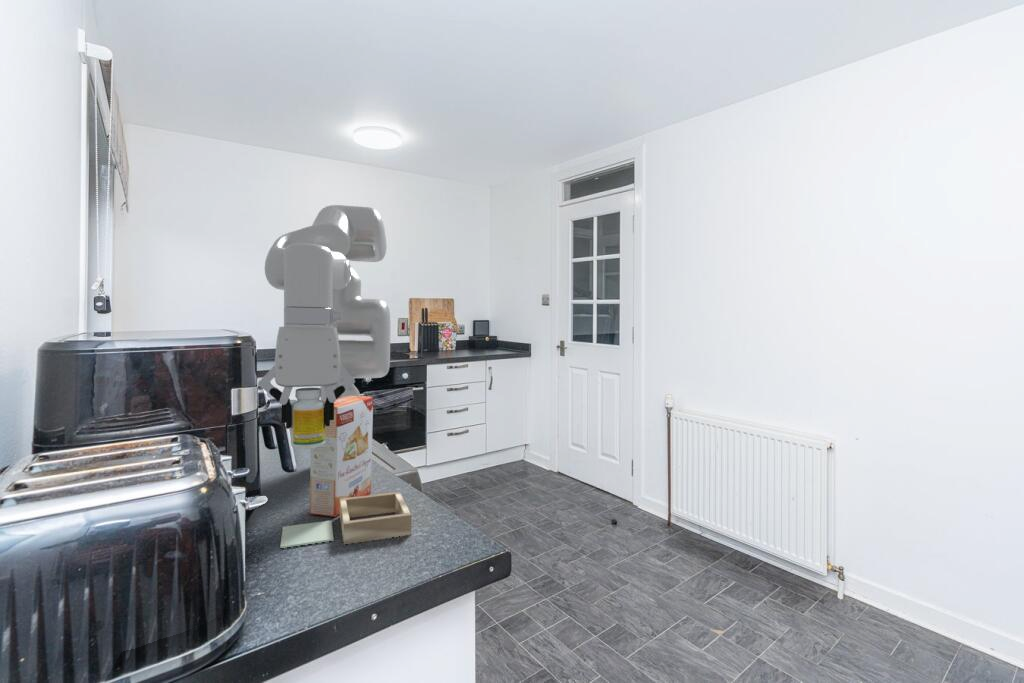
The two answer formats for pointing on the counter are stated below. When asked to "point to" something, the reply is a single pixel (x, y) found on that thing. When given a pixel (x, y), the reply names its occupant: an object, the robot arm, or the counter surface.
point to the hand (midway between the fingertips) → (308, 424)
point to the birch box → (374, 526)
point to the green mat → (307, 534)
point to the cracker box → (343, 456)
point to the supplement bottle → (307, 419)
